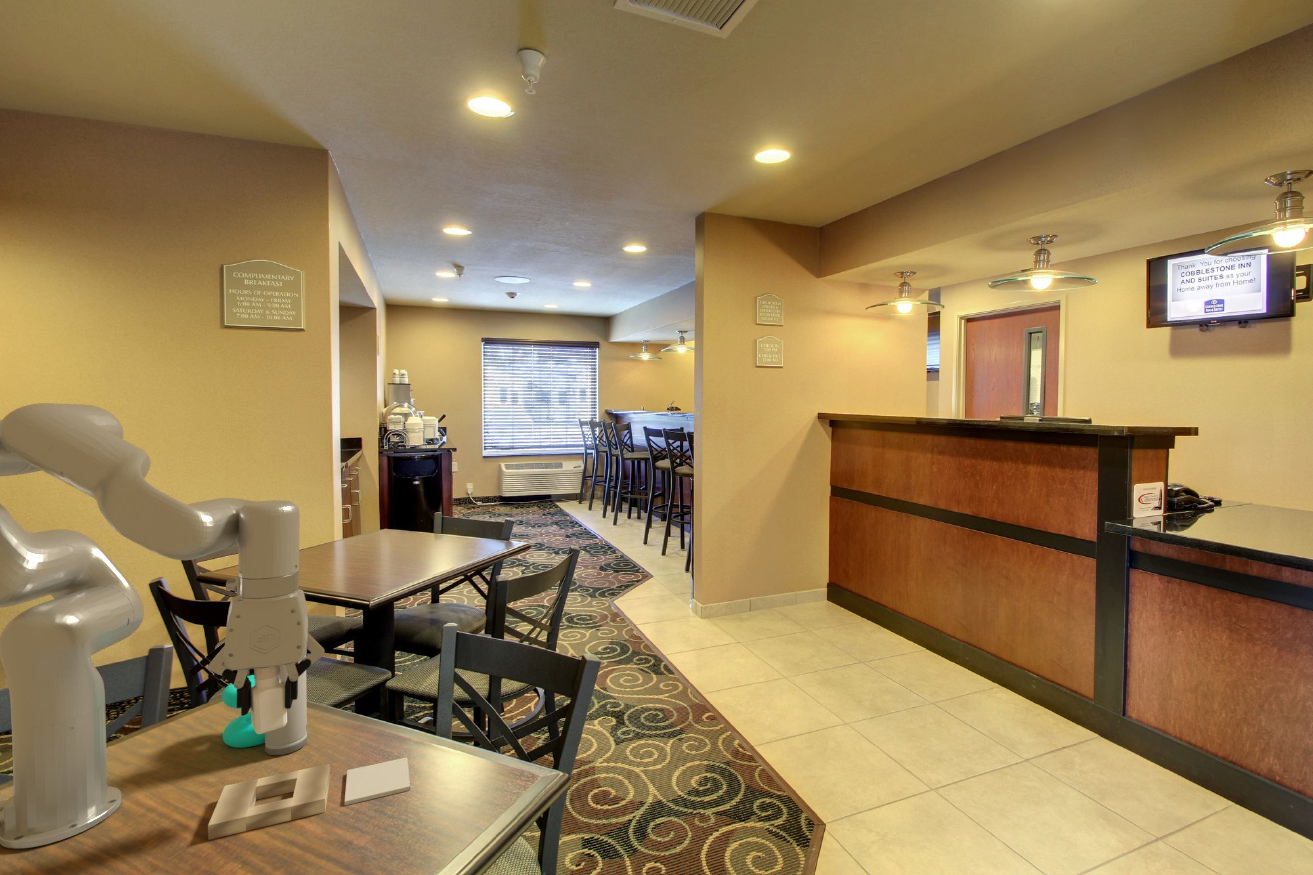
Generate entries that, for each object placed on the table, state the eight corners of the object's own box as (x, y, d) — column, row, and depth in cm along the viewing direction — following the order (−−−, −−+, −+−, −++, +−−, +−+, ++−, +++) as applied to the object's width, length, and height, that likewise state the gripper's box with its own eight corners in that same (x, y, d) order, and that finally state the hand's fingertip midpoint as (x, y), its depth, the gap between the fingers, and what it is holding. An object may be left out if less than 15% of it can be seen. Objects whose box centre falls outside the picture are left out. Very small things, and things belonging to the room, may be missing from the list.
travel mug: (316, 737, 109) (315, 627, 109) (289, 757, 103) (287, 639, 103) (285, 735, 110) (284, 625, 110) (256, 754, 104) (255, 637, 104)
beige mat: (344, 805, 90) (344, 801, 90) (347, 773, 98) (347, 770, 98) (410, 789, 94) (410, 786, 94) (407, 760, 102) (407, 757, 102)
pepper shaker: (256, 736, 87) (252, 671, 86) (251, 726, 90) (248, 663, 89) (288, 726, 90) (285, 663, 89) (282, 717, 93) (279, 655, 92)
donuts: (265, 666, 116) (299, 675, 112) (266, 718, 117) (300, 729, 112) (209, 687, 107) (243, 698, 103) (210, 743, 108) (244, 756, 103)
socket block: (208, 839, 82) (207, 825, 82) (225, 798, 91) (224, 785, 91) (325, 812, 88) (324, 798, 88) (330, 775, 97) (329, 763, 97)
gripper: (191, 597, 82) (190, 730, 83) (332, 586, 89) (331, 709, 90) (205, 584, 89) (204, 707, 89) (335, 574, 96) (334, 688, 96)
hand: (267, 706), depth 89 cm, fingers closed on pepper shaker, 4 cm apart
